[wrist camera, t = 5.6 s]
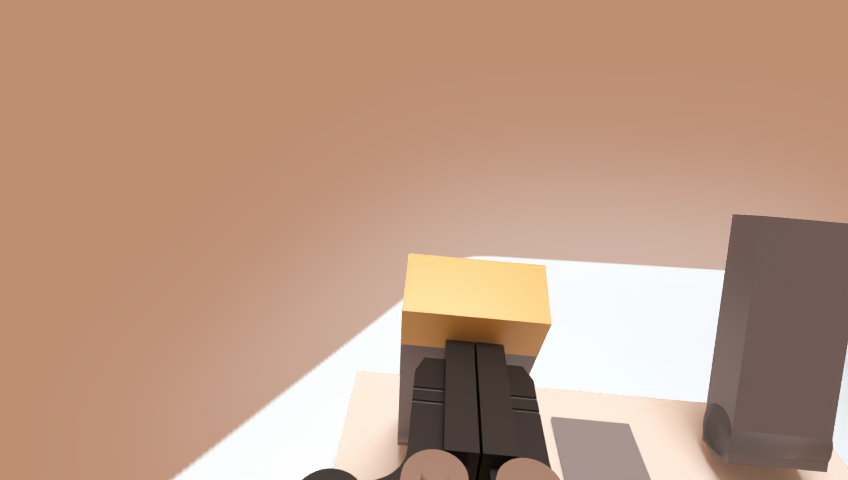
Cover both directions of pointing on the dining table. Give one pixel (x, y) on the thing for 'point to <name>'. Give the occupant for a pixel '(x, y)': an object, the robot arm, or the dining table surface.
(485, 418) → the robot arm
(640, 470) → the beige lever base
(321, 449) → the dining table surface
